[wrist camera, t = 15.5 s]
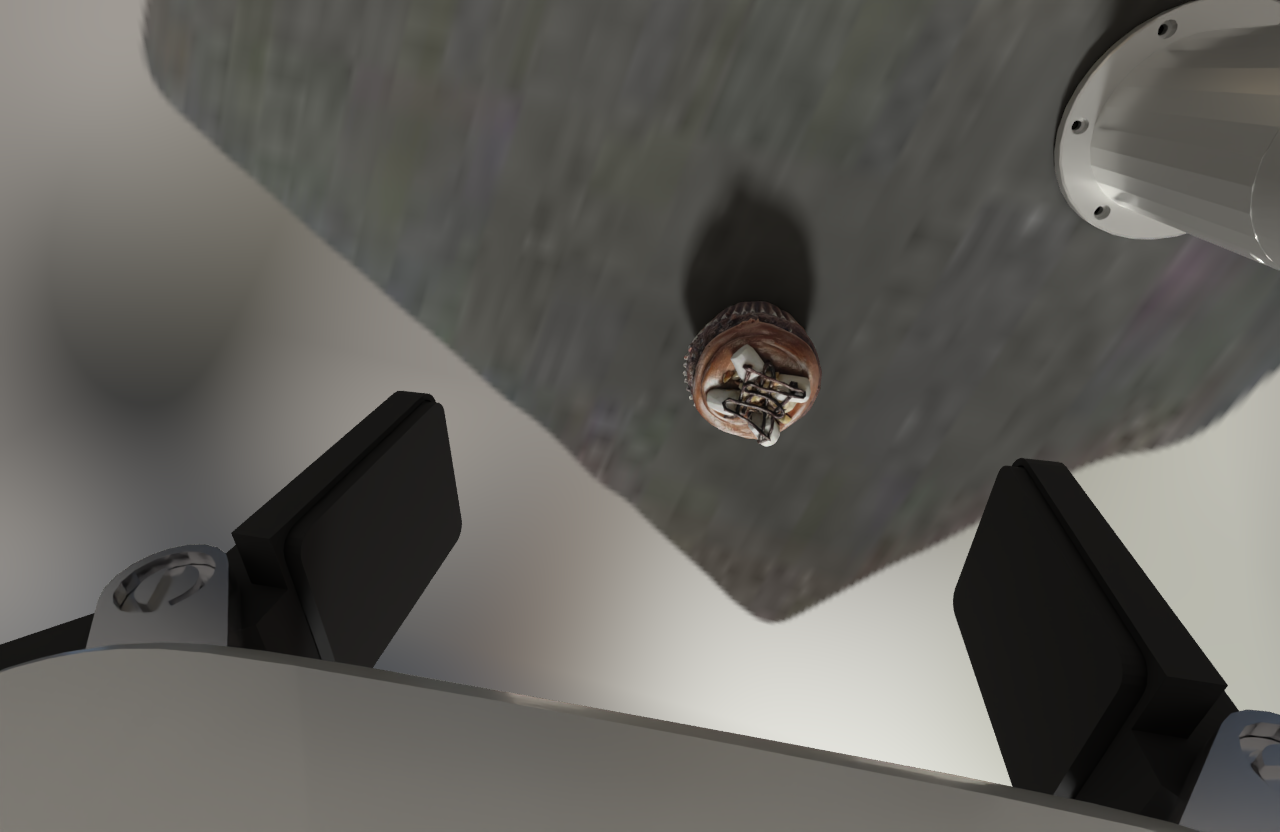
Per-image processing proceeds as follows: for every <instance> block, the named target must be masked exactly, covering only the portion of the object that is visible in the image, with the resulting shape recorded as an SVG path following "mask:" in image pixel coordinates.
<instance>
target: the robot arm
mask: <svg viewBox="0 0 1280 832" xmlns="http://www.w3.org/2000/svg"><path fill="white" fill-rule="evenodd" d="M1161 25H1163V27H1164V30H1163V32H1162V33H1161V34H1160V35H1158V29H1159V27H1160V26H1161ZM1075 121H1078V126H1077V128H1075V129H1073V130H1072V125H1073V123H1074V122H1075ZM1054 161H1055V174H1056V177H1057V181H1058V184H1059V188H1060V191H1061V192H1062V194H1063V196H1064V198H1065V199H1066V201H1067V203H1068V205H1069V206H1070V207H1071V208H1072V209H1073V210H1074V211H1075V212H1076V213H1077V214H1078V215H1079V216H1080V217H1081V218H1082V219H1084V220H1085V221H1087V222H1088V223H1090V224H1092V225H1093V226H1095V227H1096V228H1099V229H1101V230H1103V231H1106V232H1108V233H1110V234H1113V235H1117V236H1122V237H1126V238H1130V239H1160V238H1168V237H1176V236H1179V235H1183V234H1187V233H1188V234H1191V235H1193V236H1196V237H1198V238H1201V239H1203V240H1205V241H1208V242H1210V243H1213V244H1215V245H1218V246H1220V247H1223V248H1225V249H1228V250H1230V251H1232V252H1235V253H1237V254H1240V255H1242V256H1245V257H1247V258H1250V259H1252V260H1255V261H1257V262H1259V263H1262V264H1264V265H1267V266H1269V267H1272V268H1274V269H1277V270H1279V271H1280V1H1278V0H1195V1H1190V2H1187V3H1184V4H1182V5H1179V6H1177V7H1174V8H1171V9H1169V10H1166V11H1164V12H1161V13H1160V14H1158V15H1156V16H1154V17H1153V18H1151V19H1149V20H1147V21H1145V22H1144V23H1142V24H1140V25H1138V26H1137V27H1135V28H1134V29H1133V30H1131V31H1130V32H1129V33H1127V34H1126V35H1125V36H1124V37H1122V38H1121V39H1120V40H1118V41H1117V42H1116V43H1114V44H1113V45H1112V46H1111V47H1110V48H1109V49H1108V50H1107V51H1106V52H1105V53H1104V54H1103V55H1102V56H1101V57H1100V58H1099V59H1098V60H1097V61H1096V62H1095V63H1094V64H1093V66H1092V67H1091V68H1090V70H1089V71H1088V72H1087V74H1086V75H1085V76H1084V78H1083V79H1082V80H1081V82H1080V83H1079V84H1078V86H1077V88H1076V89H1075V91H1074V93H1073V95H1072V97H1071V99H1070V100H1069V102H1068V104H1067V106H1066V108H1065V110H1064V113H1063V116H1062V119H1061V122H1060V125H1059V128H1058V130H1057V137H1056V143H1055V149H1054ZM1099 206H1100V210H1099V212H1097V213H1095V214H1094V212H1095V210H1096V209H1097V208H1098V207H1099ZM461 527H462V520H461V513H460V507H459V501H458V494H457V488H456V482H455V475H454V469H453V463H452V457H451V451H450V444H449V438H448V432H447V426H446V419H445V414H444V409H443V406H442V405H441V404H440V403H436V402H435V399H434V398H433V396H432V395H430V394H425V393H416V392H407V391H397V392H395V393H394V394H393V395H391V396H390V397H389V398H388V399H387V400H386V401H384V402H383V403H382V404H381V405H380V406H379V407H377V408H376V409H375V410H374V411H373V412H372V413H370V414H369V415H368V416H367V417H366V418H365V419H363V420H362V421H361V422H360V423H359V424H358V425H356V426H355V427H354V428H353V429H352V430H351V431H350V432H348V433H347V434H346V435H345V436H344V437H343V438H341V439H340V440H339V441H338V442H337V443H336V444H334V445H333V446H332V447H331V448H330V449H329V450H327V451H326V452H325V453H324V454H323V455H322V456H320V457H319V458H318V459H317V460H316V461H315V462H313V463H312V464H311V465H310V466H309V467H308V468H306V469H305V470H304V471H303V472H302V473H301V474H299V475H298V476H297V477H296V478H295V479H294V480H292V481H291V482H290V483H289V484H288V485H287V486H286V487H284V488H283V489H282V490H281V491H280V492H278V493H277V494H276V495H275V496H274V497H273V498H271V500H269V501H268V502H267V503H266V504H265V505H263V506H262V507H261V508H260V509H259V510H257V511H256V512H255V513H254V514H253V515H252V516H250V517H249V518H248V519H247V520H246V521H245V522H244V523H242V524H241V525H240V526H239V527H238V528H237V529H235V531H233V532H232V536H233V538H234V541H235V543H236V545H235V546H234V547H233V548H232V549H231V550H229V551H228V552H227V553H224V552H223V551H222V550H220V549H219V548H218V547H214V546H210V545H206V544H196V545H195V544H194V545H184V546H178V547H174V548H169V549H166V550H163V551H160V552H157V553H154V554H152V555H149V556H148V557H145V558H143V559H141V560H139V561H137V562H136V563H133V564H132V565H130V566H129V567H128V568H126V569H125V570H123V571H122V572H120V573H119V574H117V575H116V576H115V577H114V578H113V579H112V580H111V581H110V582H109V584H107V585H106V586H105V588H104V589H103V591H102V593H101V595H100V597H99V599H98V602H97V606H96V610H95V613H93V614H90V615H87V616H84V617H81V618H78V619H75V620H73V621H70V622H66V623H63V624H60V625H57V626H54V627H52V628H49V629H46V630H43V631H40V632H37V633H34V634H31V635H28V636H25V637H22V638H19V639H16V640H13V641H10V642H7V643H4V644H1V645H0V832H1280V715H1278V714H1275V713H1272V712H1266V711H1257V710H1244V711H1239V710H1238V709H1237V708H1236V706H1235V705H1234V703H1233V702H1232V701H1231V699H1230V698H1229V697H1228V695H1227V694H1226V693H1225V691H1224V690H1225V689H1226V687H1227V686H1228V685H1227V684H1226V682H1225V681H1224V680H1223V678H1222V677H1221V676H1220V674H1219V673H1218V671H1217V670H1216V669H1215V667H1214V666H1213V665H1212V663H1211V662H1210V661H1209V659H1208V658H1207V657H1206V655H1205V654H1204V652H1203V651H1202V650H1201V649H1200V647H1199V646H1198V644H1197V643H1196V642H1195V640H1194V639H1193V638H1192V636H1191V635H1190V634H1189V632H1188V631H1187V629H1186V628H1185V627H1184V625H1183V624H1182V623H1181V621H1180V620H1179V619H1178V617H1177V616H1176V615H1175V613H1174V612H1173V611H1172V609H1171V608H1170V607H1169V605H1168V604H1167V602H1166V601H1165V600H1164V598H1163V597H1162V596H1161V595H1160V593H1159V592H1158V590H1157V589H1156V588H1155V586H1154V585H1153V584H1152V582H1151V581H1150V580H1149V578H1148V577H1147V576H1146V574H1145V573H1144V571H1143V570H1142V569H1141V567H1140V566H1139V565H1138V563H1137V562H1136V561H1135V559H1134V558H1133V556H1132V555H1131V554H1130V552H1129V551H1128V550H1127V548H1126V547H1125V546H1124V544H1123V543H1122V542H1121V540H1120V539H1119V538H1118V536H1117V535H1116V533H1114V531H1113V529H1112V528H1111V527H1110V525H1109V524H1108V523H1107V522H1106V520H1105V519H1104V517H1103V516H1102V515H1101V513H1100V512H1099V510H1098V509H1097V508H1096V506H1095V505H1094V504H1093V502H1092V501H1091V500H1090V498H1089V497H1088V496H1087V494H1086V493H1085V492H1084V490H1083V489H1082V488H1081V486H1080V485H1079V484H1078V482H1077V481H1076V480H1075V478H1074V477H1073V475H1072V474H1071V473H1070V471H1069V470H1068V469H1067V467H1066V466H1065V465H1064V464H1063V463H1060V462H1052V461H1043V460H1034V459H1024V458H1020V459H1017V460H1016V461H1015V462H1014V463H1013V465H1012V466H1003V467H1002V468H1001V469H1000V471H999V473H998V475H997V478H996V481H995V483H994V486H993V489H992V491H991V494H990V497H989V499H988V502H987V505H986V507H985V510H984V513H983V515H982V518H981V521H980V523H979V526H978V529H977V532H976V534H975V537H974V540H973V542H972V545H971V548H970V551H969V553H968V556H967V558H966V561H965V564H964V567H963V569H962V572H961V575H960V577H959V580H958V583H957V585H956V588H955V592H954V598H953V607H954V613H955V616H956V619H957V622H958V625H959V628H960V631H961V634H962V637H963V640H964V643H965V646H966V649H967V652H968V655H969V658H970V661H971V664H972V667H973V670H974V673H975V676H976V679H977V682H978V685H979V688H980V691H981V694H982V697H983V700H984V703H985V706H986V709H987V712H988V715H989V718H990V721H991V724H992V727H993V729H994V733H995V736H996V738H997V742H998V745H999V748H1000V750H1001V754H1002V756H1003V759H1004V762H1005V765H1006V768H1007V771H1008V774H1009V777H1010V780H1011V783H1012V786H1013V787H1011V786H1006V785H1001V784H996V783H991V782H986V781H981V780H976V779H971V778H966V777H962V776H956V775H952V774H946V773H941V772H935V771H931V770H925V769H920V768H915V767H910V766H903V765H899V764H894V763H888V762H883V761H878V760H872V759H867V758H862V757H857V756H851V755H846V754H841V753H835V752H830V751H825V750H819V749H814V748H809V747H803V746H798V745H793V744H788V743H782V742H777V741H772V740H766V739H761V738H755V737H750V736H745V735H740V734H734V733H729V732H723V731H718V730H713V729H707V728H701V727H696V726H691V725H685V724H680V723H674V722H669V721H664V720H658V719H653V718H647V717H641V716H636V715H631V714H625V713H620V712H615V711H609V710H603V709H598V708H592V707H587V706H582V705H576V704H571V703H565V702H560V701H554V700H548V699H543V698H537V697H531V696H527V695H521V694H515V693H509V692H504V691H498V690H492V689H487V688H481V687H475V686H470V685H464V684H459V683H453V682H448V681H442V680H436V679H430V678H425V677H419V676H414V675H408V674H402V673H397V672H391V671H385V670H380V669H374V668H373V667H374V665H375V664H376V662H377V661H378V659H379V657H380V656H381V655H382V653H383V652H384V650H385V649H386V647H387V646H388V644H389V642H390V641H391V639H392V638H393V636H394V635H395V633H396V632H397V631H398V629H399V627H400V626H401V625H402V623H403V621H404V620H405V619H406V617H407V616H408V614H409V612H410V611H411V610H412V608H413V607H414V605H415V604H416V602H417V600H418V599H419V597H420V596H421V595H422V593H423V592H424V590H425V588H426V587H427V585H428V584H429V583H430V581H431V579H432V578H433V576H434V575H435V574H436V572H437V570H438V569H439V568H440V566H441V564H442V563H443V561H444V560H445V558H446V557H447V555H448V554H449V552H450V551H451V549H452V548H453V546H454V545H455V543H456V542H457V540H458V538H459V536H460V532H461Z"/></svg>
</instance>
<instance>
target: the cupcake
mask: <svg viewBox="0 0 1280 832" xmlns="http://www.w3.org/2000/svg"><path fill="white" fill-rule="evenodd" d="M688 349H689V350H688V351H689V352H688V353H687V354H686V355H685V357H684V359H686V360H687V361H686V362H685V363H684V364H683V366H684V367H685V368H686V369H685V371H684V372H683V374H684V376H687V377H686V378H685V383H688V386H687V388H686V390H688V391H690V392H691V395H690V397H689V399H691V400H692V399H693V400H694V406H696V408H697V410H698V411H699V413H700V414H701V415H702V416H703V417H704V418H705V419H706V420H707V421H708V422H709V423H710V424H712V425H713V426H715V427H717V428H718V429H720V430H722V431H724V432H727V433H731V434H735V435H738V436H742V437H745V438H750V439H758V440H757V442H758V444H761V445H763V446H765V447H767V446H771V445H773V444H774V443H776V441H777V440H778V438H779V436H780V432H781V431H783V430H784V429H786V428H787V427H788V426H790V425H791V424H793V423H795V422H796V421H797V420H798V419H800V418H801V417H803V416H804V415H805V414H806V413H807V412H808V411H809V409H810V408H811V407H812V405H813V403H814V401H815V399H816V397H817V395H818V393H819V391H820V386H821V376H822V370H821V367H820V363H819V358H818V354H817V352H816V349H815V347H814V345H813V343H812V341H811V340H810V338H809V337H808V335H807V333H806V332H805V330H804V329H803V327H801V326H800V325H799V324H798V323H797V321H796V320H795V319H794V318H793V317H792V316H791V315H790V313H788V312H786V311H784V310H780V309H779V308H778V307H777V306H775V305H773V304H771V303H769V302H765V301H750V302H748V301H743V302H740V303H737V304H735V305H733V306H730V307H728V308H726V309H724V310H723V311H721V312H720V313H719V314H718V315H717V316H716V317H715V318H713V319H712V320H711V321H710V322H709V323H708V324H707V325H706V326H705V327H704V328H703V329H702V330H701V331H700V332H699V333H698V334H697V336H696V337H695V338H694V340H693V343H692V344H690V345H689V347H688Z"/></svg>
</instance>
